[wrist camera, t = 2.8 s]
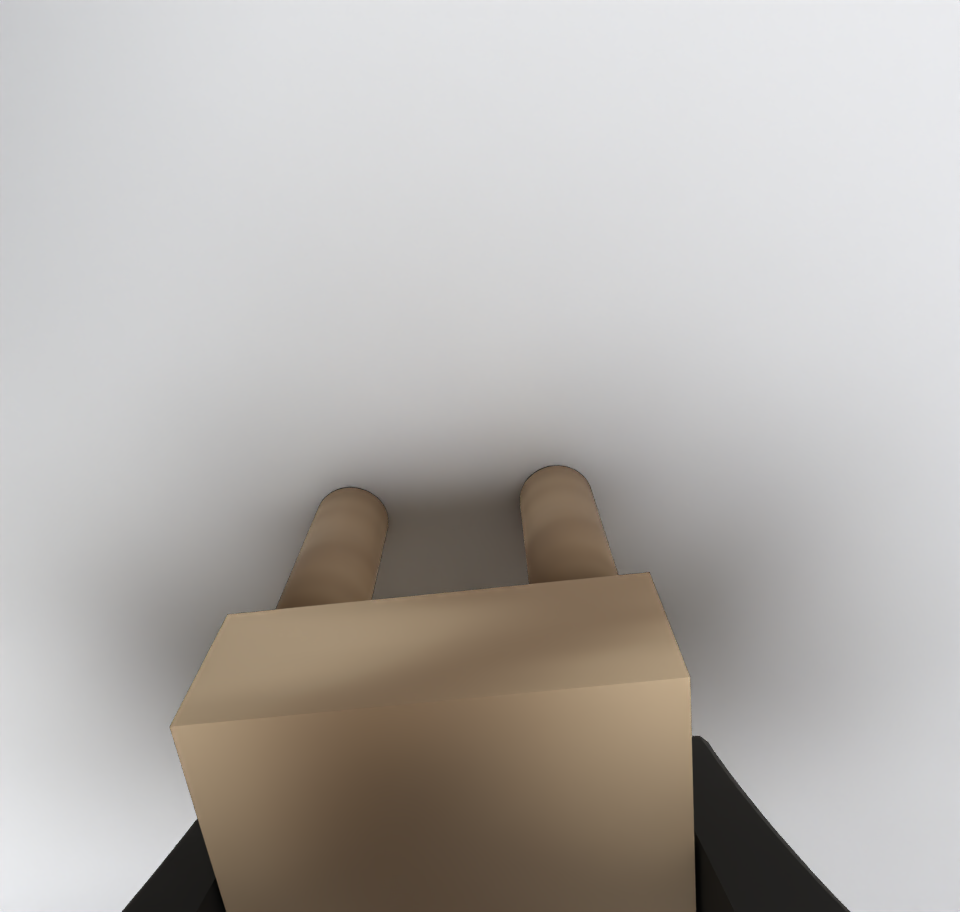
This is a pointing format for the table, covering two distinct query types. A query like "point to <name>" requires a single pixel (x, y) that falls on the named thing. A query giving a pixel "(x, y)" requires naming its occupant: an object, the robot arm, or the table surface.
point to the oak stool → (448, 732)
